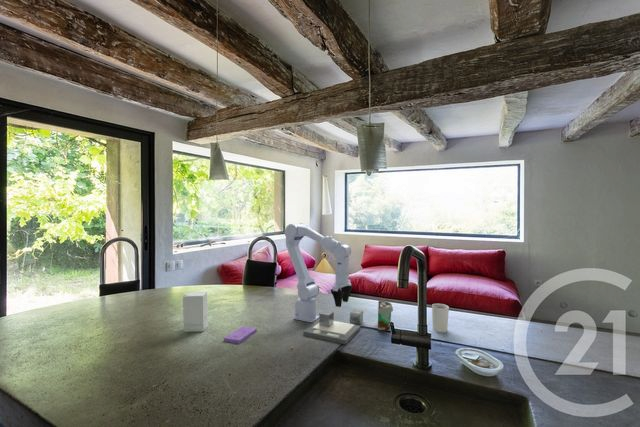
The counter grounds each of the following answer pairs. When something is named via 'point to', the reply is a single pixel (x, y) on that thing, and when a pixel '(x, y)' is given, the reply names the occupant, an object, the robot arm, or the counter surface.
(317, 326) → the kitchen scale
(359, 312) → the block
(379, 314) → the food container
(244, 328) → the sponges
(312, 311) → the robot arm
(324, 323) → the block
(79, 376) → the counter surface
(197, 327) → the skincare box
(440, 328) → the white cup
